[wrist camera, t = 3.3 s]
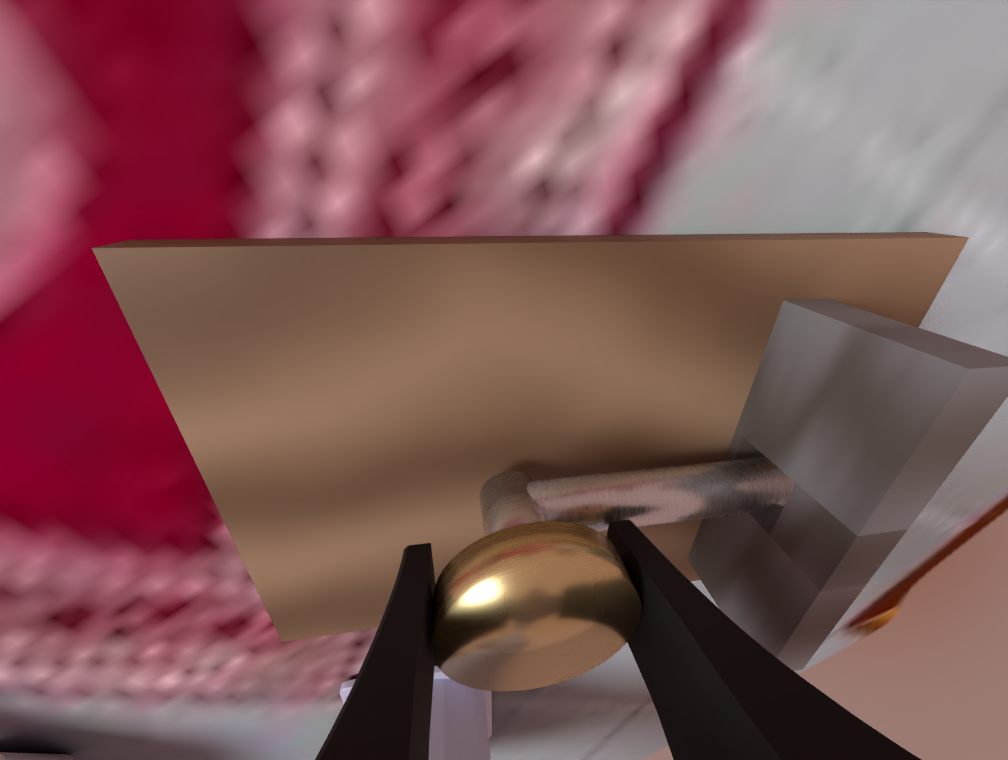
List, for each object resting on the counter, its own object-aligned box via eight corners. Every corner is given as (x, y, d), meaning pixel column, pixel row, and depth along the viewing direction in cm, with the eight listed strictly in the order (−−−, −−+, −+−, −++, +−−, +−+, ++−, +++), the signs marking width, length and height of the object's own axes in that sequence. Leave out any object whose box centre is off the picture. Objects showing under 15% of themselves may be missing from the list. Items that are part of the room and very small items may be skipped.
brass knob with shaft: (757, 510, 16) (870, 628, 12) (439, 549, 14) (440, 705, 10) (805, 407, 13) (967, 511, 9) (427, 438, 12) (423, 585, 7)
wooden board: (765, 547, 21) (876, 674, 15) (291, 613, 17) (228, 804, 12) (926, 232, 13) (1255, 273, 8) (129, 240, 10) (-239, 321, 4)
